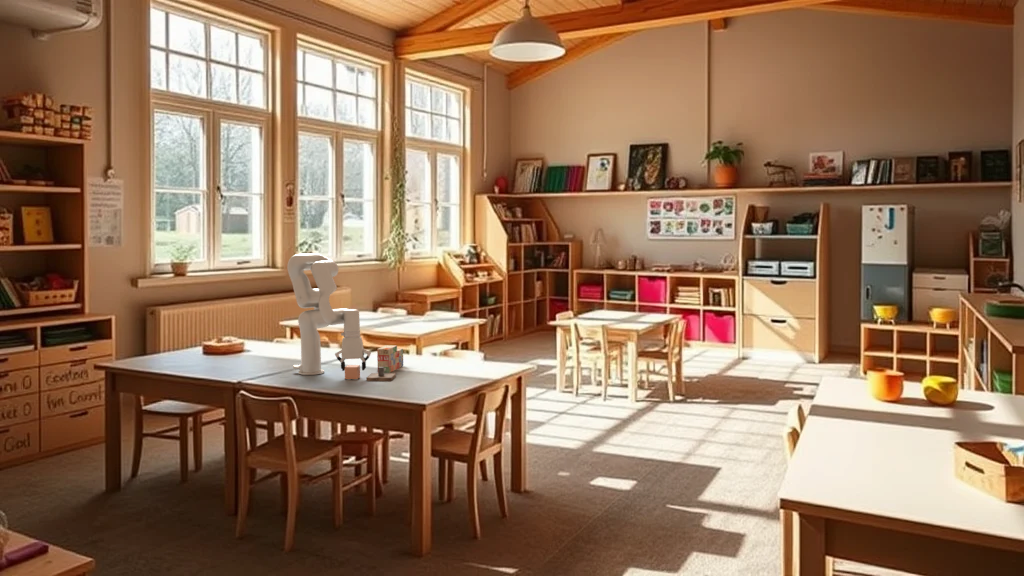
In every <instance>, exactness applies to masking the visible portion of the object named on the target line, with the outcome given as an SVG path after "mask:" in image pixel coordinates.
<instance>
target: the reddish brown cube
mask: <svg viewBox="0 0 1024 576" xmlns="http://www.w3.org/2000/svg"><path fill="white" fill-rule="evenodd" d="M358 378H359V379H360V378H361V366H360V364H347V365H345V370H344V380H345V379H358ZM359 379H358V380H359Z"/></svg>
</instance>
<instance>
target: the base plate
mask: <svg viewBox="0 0 1024 576" xmlns="http://www.w3.org/2000/svg"><path fill="white" fill-rule="evenodd" d="M396 376H397V374H396V372H390V373H384V367H378V366H377V372H371V373H370V374H369V375H368V376H367V377H365V379H366V382H392V381H393V380H394V379H395V378H396Z"/></svg>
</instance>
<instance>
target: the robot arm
mask: <svg viewBox="0 0 1024 576" xmlns="http://www.w3.org/2000/svg"><path fill="white" fill-rule="evenodd" d="M337 264H338V263H336V261H335V260H332V259H331V258H328V257H327V256H324V255H322V254H320V253H313V252H311V253H310V252H309V253H308V252H307V253H296V254H293V255H292V256H291V257H290V258H289V260H288V262H287V272H288V273H287V274H288V276H289V279H290V281H291V284H292V288H293V292H294V297H295V300H296V304H297V305H298V307H299V308H301V309H308V310H305V311H302V312H300V314H299V315H298V318H297V320H298V321H297V322H298V323H297V324H298V326H299V331H300V333H299V334H300V354H301V355H300V358H301V359H300V360H301V363H300V364H299V365H298V364H293V367H292V369H294V370H298V374H299V375H302V376H314V375H315V376H316V375H321V374H322V375H323V374H324V373H325V370H324V369H322V360H321V359H322V355H321V354H322V353H321V349H322V348H321V345H322V344H321V335H320V333H319V331H318V329H320V328H321V329H323V328H326V327H329V326H336V325H343V332H341V334H340V335H341V336H343V337H342V339H341V349H340V350H339V351H337V352H335V353H334V355H335V357H336V360H338V362H340V368H341V371H344V372H345V367H346V362H345V360H353V359H358V360H359V359H360V360H361V361H362V362H361V369H362V371H365V370H366V368H367V361H368V360H369V358H370V356H371V354H372V352H371V351H369V350H367V349H365V348H364V341H363V338H362V336H361V329H360V328H361V326H360V324H361V323H360V311H359V309H356V308H350V309H349V308H345V307H344V308H342V307H341V308H334V309H333V308H332V306H331V303H330V297H331V295H332V294H333V293H334V292H336V291H337V289H338V286H337V284H336V282H335V279H334V277H336V276H338V274H339V266H338V265H337ZM305 271H310V272H311V274H312V276H313V279H314V282H315V285H316V286H317V288H312V285H311V281H310V279H309V277H308V275H307V274H306V273H305ZM310 308H311V309H310ZM312 308H313V309H312ZM309 309H310V310H309ZM340 354H341V357H340ZM365 354H366V356H365Z"/></svg>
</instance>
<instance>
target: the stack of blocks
mask: <svg viewBox="0 0 1024 576" xmlns="http://www.w3.org/2000/svg"><path fill="white" fill-rule="evenodd" d="M376 351H377V353H376V354H377V361H376V362H377V368H378V367H384V373H393V372H394V371H396V370H398V369H400V368H401V367H404V349H403V348H398V345H390V344H389V345H386V344H385V345H383V346H381V347H379V348H377V350H376Z"/></svg>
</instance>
